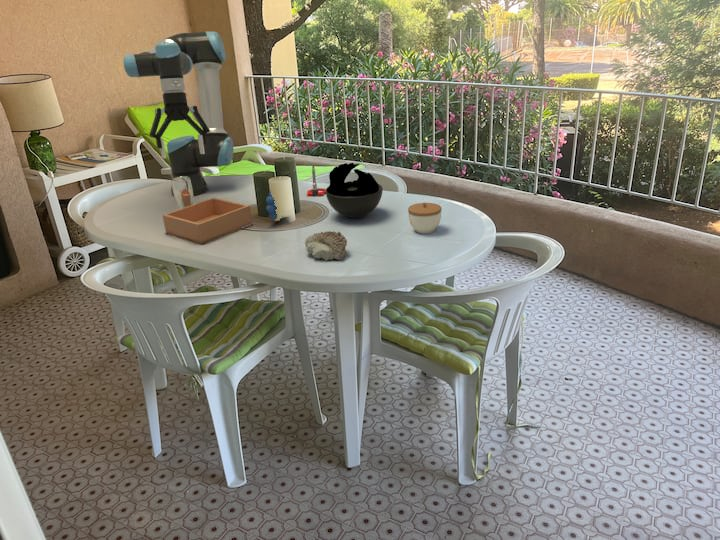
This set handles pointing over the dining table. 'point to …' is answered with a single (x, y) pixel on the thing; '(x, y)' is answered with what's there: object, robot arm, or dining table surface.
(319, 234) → the seashell
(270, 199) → the grapes
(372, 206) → the coal bowl
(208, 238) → the open box
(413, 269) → the dining table surface
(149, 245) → the dining table surface
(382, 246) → the dining table surface
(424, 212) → the lidded jar
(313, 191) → the tow hook
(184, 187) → the beer glass
